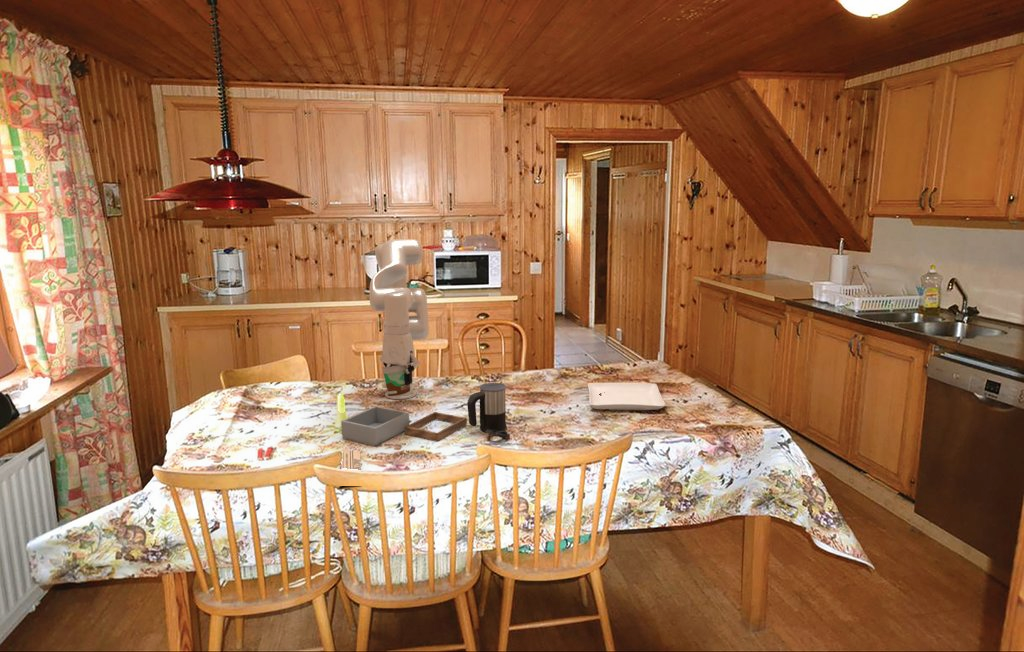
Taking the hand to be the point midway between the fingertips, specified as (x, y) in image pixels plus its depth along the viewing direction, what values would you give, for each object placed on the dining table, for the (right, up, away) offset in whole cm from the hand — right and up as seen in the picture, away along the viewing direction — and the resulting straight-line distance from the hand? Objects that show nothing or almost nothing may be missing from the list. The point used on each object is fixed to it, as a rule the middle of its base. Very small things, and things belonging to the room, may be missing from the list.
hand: (400, 382), depth 207 cm
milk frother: (+32, -17, +2) cm, 36 cm away
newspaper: (-10, -24, -25) cm, 36 cm away
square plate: (+79, -11, +31) cm, 86 cm away
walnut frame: (+11, -16, +5) cm, 21 cm away
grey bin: (-8, -17, +2) cm, 19 cm away
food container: (+1, -3, 0) cm, 3 cm away
